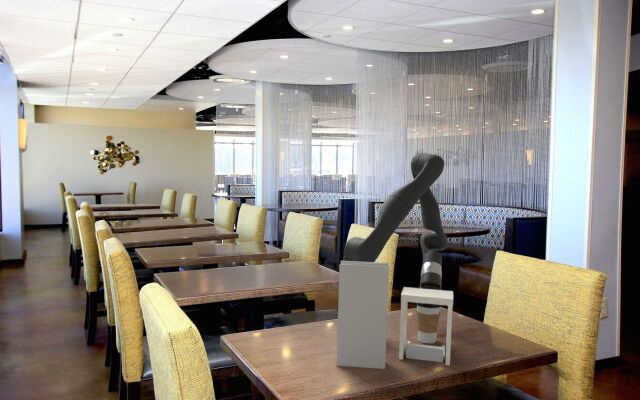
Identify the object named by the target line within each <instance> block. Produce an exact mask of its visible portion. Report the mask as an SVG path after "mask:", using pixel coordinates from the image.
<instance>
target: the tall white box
mask: <svg viewBox="0 0 640 400" xmlns="http://www.w3.org/2000/svg"><path fill="white" fill-rule="evenodd" d="M338 271H339V274H338V275H339V277H338V306H337V307H338V308H337V330H336V331H337V332H336V333H337V339H336V367H350V368H367V369H379V370H380V369H382V370H386V356H387V355H386V353H387V351H386V350H387V332H388V331H387V329H388V327H387V326H388V307H389V305H388V304H389V303H388V300H389V282H390V281H389V279H390V277H389V275H390V265H389V262H377V261H375V262H358V261H344V260H340V264H339V269H338Z"/></svg>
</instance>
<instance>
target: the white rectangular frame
mask: <svg viewBox="0 0 640 400" xmlns="http://www.w3.org/2000/svg"><path fill="white" fill-rule="evenodd" d="M408 303H415V304H416V303H427V304H437V305H442V306H447V317H446V318H447V320H446V321H447V323H446V342H445V344H442V345H441V346H436V345H429V344H428V345H427V344H419V343H418V344H417V343H412V342H411V341H410V340H407V329H408V328H407V324H408ZM453 307H454V291H452V290H443V289H441V290H432V289H420V287H406V286H403V289H402V291H401V293H400V320H399V321H400V324H399V325H400V326H399V347H398V348H399V349H398V350H399V351H398V360H400V361H401V360H404V357H405V358H406V359H409V360H410V359H412V360H420V361H427V362H438V363H443V362H444V361H445V366H450V364H451V347H452V346H451V345H452V323H453V322H452V321H453Z"/></svg>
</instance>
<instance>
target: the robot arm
mask: <svg viewBox="0 0 640 400" xmlns="http://www.w3.org/2000/svg"><path fill="white" fill-rule="evenodd" d="M444 168H445V161H444V159H443V157H442V156H440V155H438V154H433V153H426V152H418V153H416V154H414V155H413V156H412V158H411V161H410V170H411V171H410V172H411V175H412V178H413V180H411V181H409V182H408V183H406V184H404V185H402V186H401V187H398V188H397V189H396V190H394V191H393V192H392V193H391V194H390V195H389V196H388V197H387V199H386V200H385V201H384V202H383V204H382V205H381V207H380V209H379V213H378V217H377V222H376V225H375V226H374V228H373V230H372V231H371V232H370V233H369V235H368V236H367V237H366V238H362V237H359V236H353V237H351V238H349V239H347V241H346V243H345V245H344V249H343V261H358V262H377V261H376V260H377V259H378V258H379V257H380V255H381V254H382V252H383V250H384V248H385V246H386V244H387V243H388V241H389V240H390V238H391V237H392V236H393V234H394V233H395V232H396V230H397V229H398V227H399V226H400V225H401V223H403V221H404V220H405V219H406V217H407V216H408V215H409V214H410V213H411V210H412V209H413V208H414V206H415V205H416V203H418V202H419V204H420V212H421V222H422V226H423V228H424V229H426V230H427V231H428V230H429V231H432V232H425V233H422V234H421V235H420V238H419V244H420V247H421V251H422V267H421V271H420V272H421V273H420V284H419V288H420V289H432V290H442V278H443V277H442V275H443V273H442V271H443V269H442V263H443V256H442V254H441V253H440V252H439V251H444V250H447V247H448V243H449V242H448V238H447V235H446V232H445V231H444V228H443V226H442V225H443V224H442V220H441V211H440V210H441V209H440V206H439V203H438V201H437V198H436V197H435V195H434V193H433V191H432V189H431V186H432V185H434V183H435V182H436V181H437V180H438V179H439V178H440V177H441V175H442V173H443V171H444V170H445V169H444ZM442 306H443V305H441V307H442Z"/></svg>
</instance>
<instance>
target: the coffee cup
mask: <svg viewBox="0 0 640 400" xmlns="http://www.w3.org/2000/svg"><path fill="white" fill-rule="evenodd" d="M415 305H416V324H417V341H418V342H419V343H422V344H428V345H429V344H435V343H436V341H437V335H438V327H439V321H440V315H441V314H440V313H441V312H440V309H441V307H442V306H441V305H437V304H427V303H416V302H415Z"/></svg>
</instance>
